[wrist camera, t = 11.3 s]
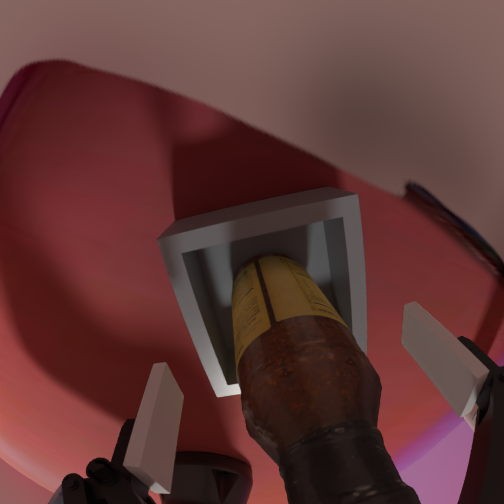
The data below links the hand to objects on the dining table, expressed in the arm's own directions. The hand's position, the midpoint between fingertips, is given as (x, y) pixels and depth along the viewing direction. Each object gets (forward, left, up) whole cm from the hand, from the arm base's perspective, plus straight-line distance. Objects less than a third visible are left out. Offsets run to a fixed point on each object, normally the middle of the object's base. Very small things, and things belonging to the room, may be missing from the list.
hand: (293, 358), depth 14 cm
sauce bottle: (0, 0, -10) cm, 10 cm away
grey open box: (0, 0, -10) cm, 10 cm away
